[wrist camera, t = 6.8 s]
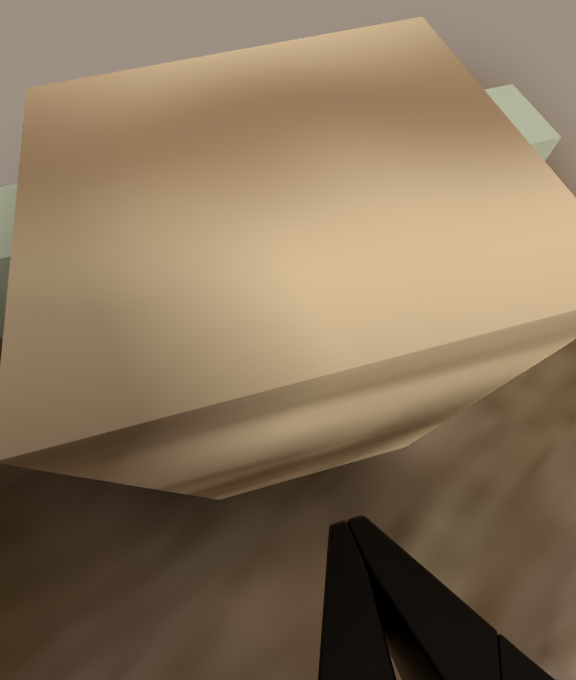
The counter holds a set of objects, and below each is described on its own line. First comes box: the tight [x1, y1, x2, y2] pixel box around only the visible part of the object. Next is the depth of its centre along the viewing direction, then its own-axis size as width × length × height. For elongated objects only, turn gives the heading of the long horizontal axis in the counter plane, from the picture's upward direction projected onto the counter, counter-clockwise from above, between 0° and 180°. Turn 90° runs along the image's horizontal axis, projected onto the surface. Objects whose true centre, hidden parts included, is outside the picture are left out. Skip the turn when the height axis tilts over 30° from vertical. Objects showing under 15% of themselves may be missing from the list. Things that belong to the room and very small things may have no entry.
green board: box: [0, 84, 561, 339], centre depth 15 cm, size 3×20×8 cm, turn 105°
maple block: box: [0, 17, 576, 500], centre depth 11 cm, size 7×8×12 cm
